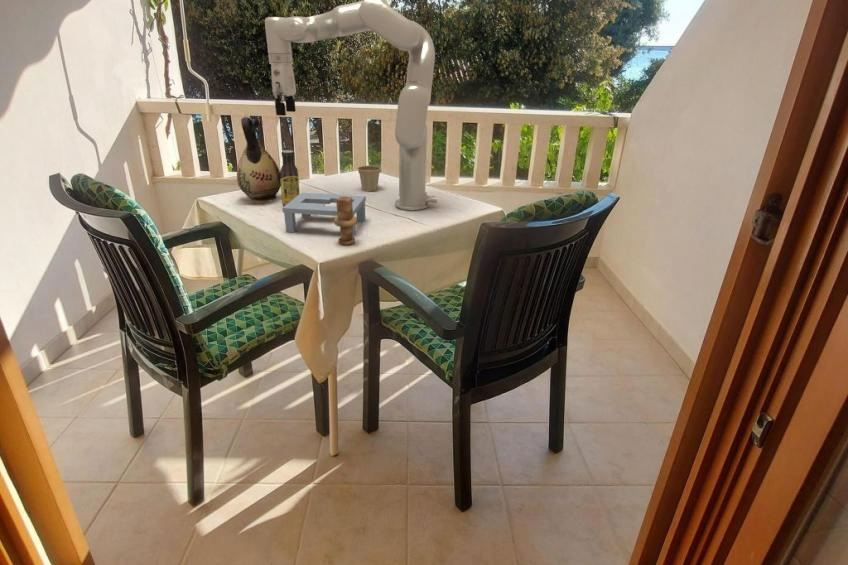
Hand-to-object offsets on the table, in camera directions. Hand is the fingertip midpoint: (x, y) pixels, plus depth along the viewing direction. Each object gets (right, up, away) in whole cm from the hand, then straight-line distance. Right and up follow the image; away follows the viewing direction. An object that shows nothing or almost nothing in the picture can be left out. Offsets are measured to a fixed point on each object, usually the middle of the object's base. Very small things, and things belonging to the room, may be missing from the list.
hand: (286, 113), depth 171 cm
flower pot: (+26, -21, +28) cm, 44 cm away
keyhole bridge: (+16, -40, -11) cm, 45 cm away
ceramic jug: (-13, -28, +12) cm, 33 cm away
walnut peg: (+25, -47, -23) cm, 58 cm away
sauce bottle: (+1, -32, +6) cm, 32 cm away
